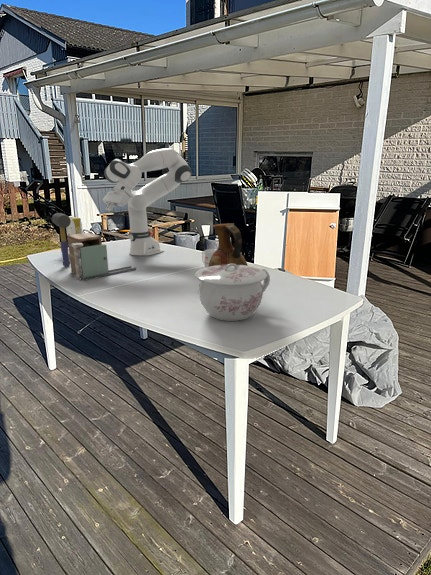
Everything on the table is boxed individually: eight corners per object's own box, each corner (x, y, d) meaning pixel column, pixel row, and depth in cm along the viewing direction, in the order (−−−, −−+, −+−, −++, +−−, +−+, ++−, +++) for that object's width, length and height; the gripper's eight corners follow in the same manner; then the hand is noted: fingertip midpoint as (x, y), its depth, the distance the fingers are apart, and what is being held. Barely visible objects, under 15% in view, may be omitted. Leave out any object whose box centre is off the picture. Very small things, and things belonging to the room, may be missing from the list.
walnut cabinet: (92, 268, 225) (88, 232, 218) (108, 274, 212) (104, 237, 206) (63, 273, 214) (59, 236, 208) (79, 280, 201) (74, 241, 195)
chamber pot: (188, 326, 147) (186, 271, 140) (203, 301, 172) (203, 253, 166) (264, 331, 142) (267, 275, 136) (269, 304, 168) (271, 256, 161)
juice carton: (67, 253, 260) (63, 216, 253) (79, 251, 266) (75, 214, 258) (75, 255, 254) (70, 217, 247) (86, 253, 259) (82, 216, 252)
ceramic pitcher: (227, 277, 207) (227, 218, 198) (257, 285, 193) (259, 223, 184) (199, 285, 194) (198, 223, 185) (229, 294, 180) (230, 228, 171)
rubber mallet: (77, 267, 225) (70, 213, 216) (63, 270, 221) (56, 215, 212) (69, 263, 235) (63, 211, 226) (56, 265, 230) (49, 212, 221)
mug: (224, 270, 219) (224, 250, 215) (213, 274, 213) (213, 253, 209) (208, 266, 226) (208, 247, 223) (197, 270, 220) (196, 250, 217)
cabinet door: (106, 273, 214) (103, 243, 209) (109, 274, 212) (107, 245, 207) (78, 279, 204) (75, 248, 199) (82, 280, 202) (78, 249, 197)
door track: (130, 267, 225) (130, 265, 225) (135, 269, 221) (135, 267, 221) (79, 278, 206) (79, 276, 205) (84, 280, 202) (84, 278, 201)
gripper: (108, 186, 229) (94, 204, 226) (127, 187, 215) (112, 207, 212) (116, 193, 234) (102, 212, 230) (135, 195, 219) (120, 215, 216)
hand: (107, 210), depth 221 cm, fingers closed
